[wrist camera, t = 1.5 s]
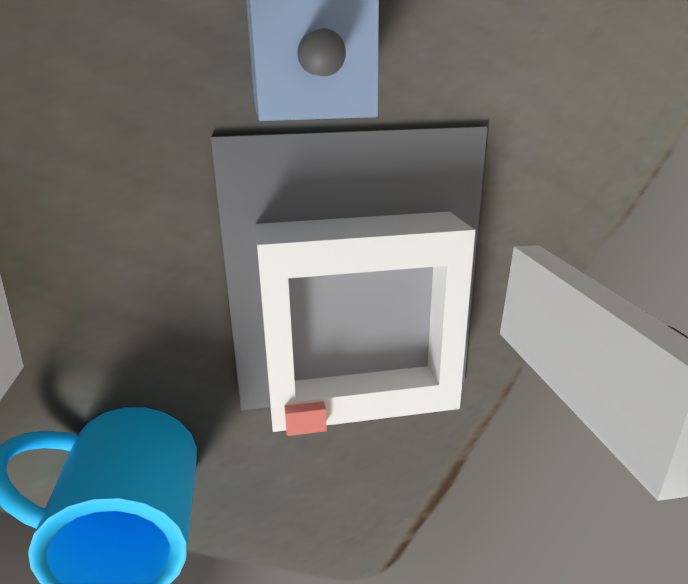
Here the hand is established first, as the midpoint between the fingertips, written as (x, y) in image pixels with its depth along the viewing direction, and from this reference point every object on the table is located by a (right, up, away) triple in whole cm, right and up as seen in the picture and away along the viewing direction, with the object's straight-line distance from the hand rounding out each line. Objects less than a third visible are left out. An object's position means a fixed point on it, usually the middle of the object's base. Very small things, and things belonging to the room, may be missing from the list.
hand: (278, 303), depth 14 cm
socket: (+2, +1, +20) cm, 20 cm away
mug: (-14, -10, +22) cm, 28 cm away
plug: (-1, +13, +15) cm, 19 cm away
